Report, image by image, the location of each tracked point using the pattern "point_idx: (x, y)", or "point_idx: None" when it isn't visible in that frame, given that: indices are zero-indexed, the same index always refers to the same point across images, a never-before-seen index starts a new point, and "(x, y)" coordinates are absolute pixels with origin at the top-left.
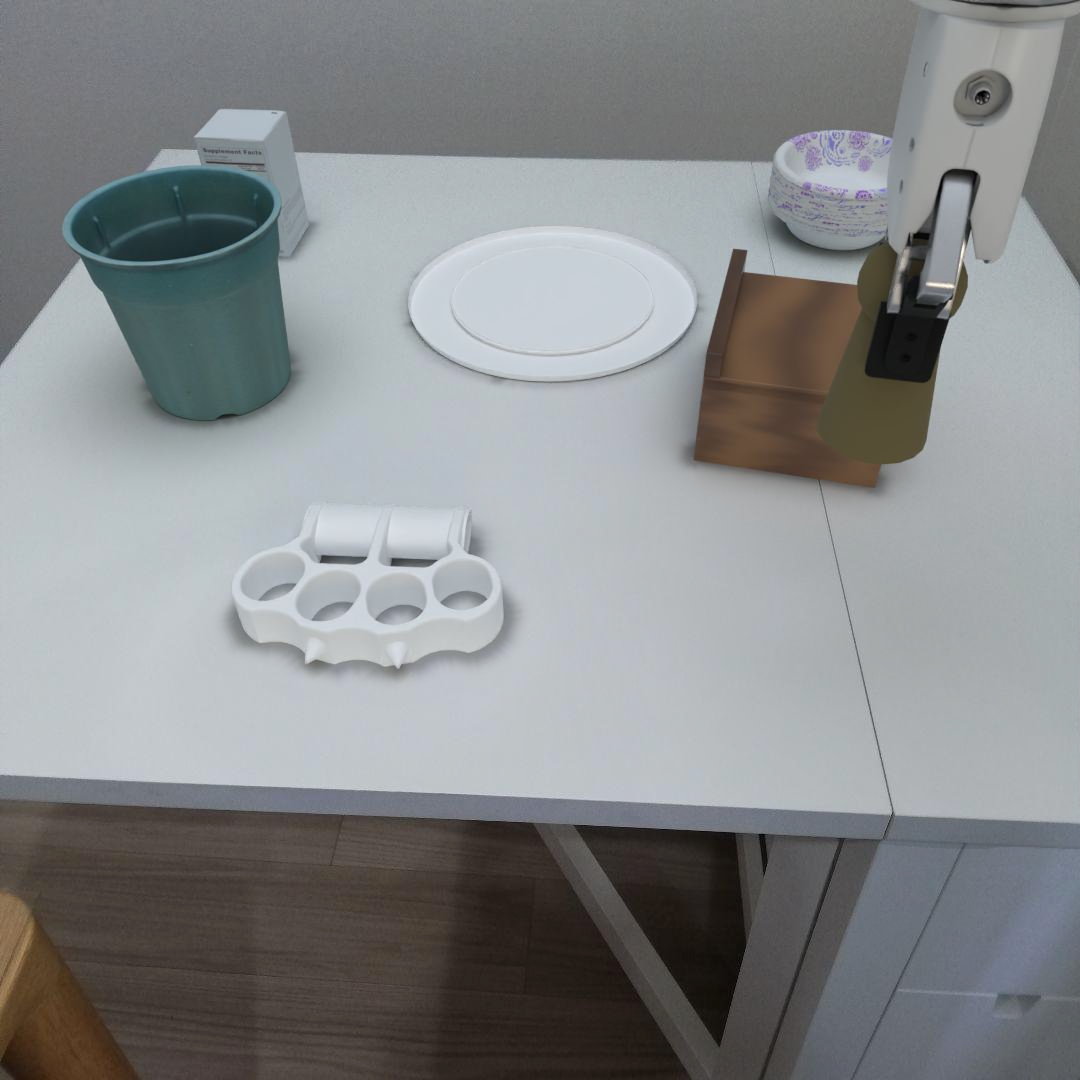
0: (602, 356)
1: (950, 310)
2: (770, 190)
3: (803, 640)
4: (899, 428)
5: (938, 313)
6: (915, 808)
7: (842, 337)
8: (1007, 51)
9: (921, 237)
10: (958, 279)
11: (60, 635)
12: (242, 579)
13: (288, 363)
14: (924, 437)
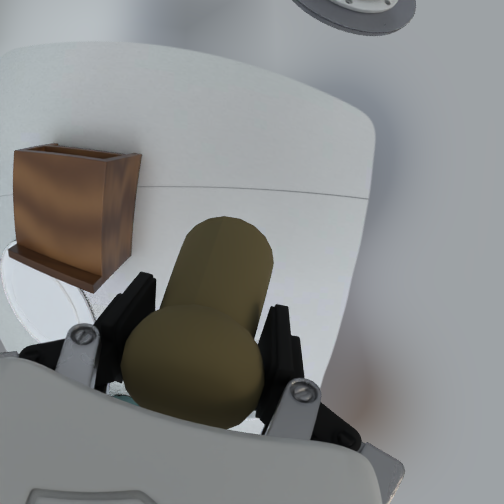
0: (69, 289)
1: (319, 395)
2: None
3: (266, 217)
4: (268, 273)
5: (324, 406)
6: (369, 188)
7: (52, 192)
8: None
9: (106, 364)
10: (312, 430)
11: (257, 433)
12: (246, 418)
13: (122, 399)
14: (252, 232)
